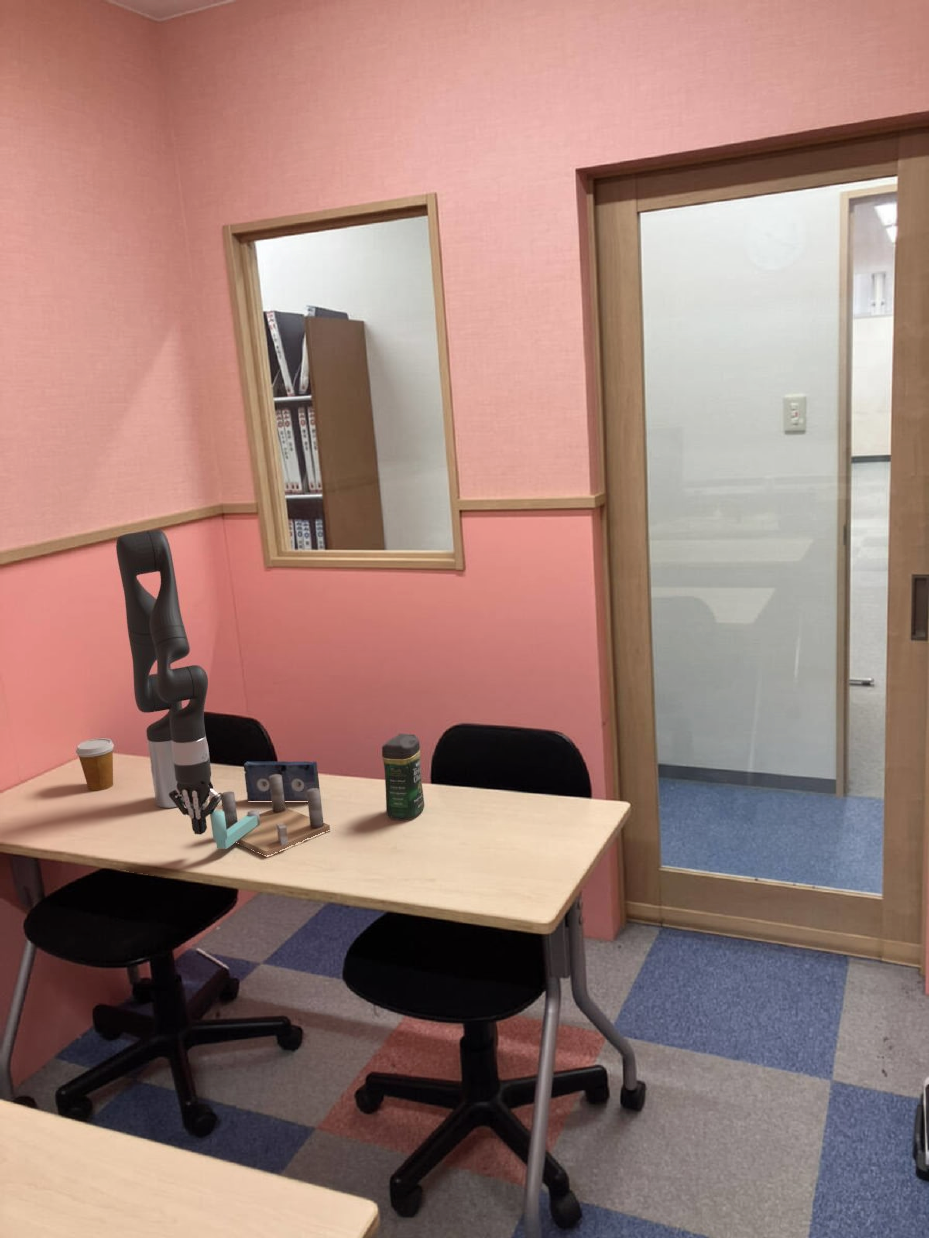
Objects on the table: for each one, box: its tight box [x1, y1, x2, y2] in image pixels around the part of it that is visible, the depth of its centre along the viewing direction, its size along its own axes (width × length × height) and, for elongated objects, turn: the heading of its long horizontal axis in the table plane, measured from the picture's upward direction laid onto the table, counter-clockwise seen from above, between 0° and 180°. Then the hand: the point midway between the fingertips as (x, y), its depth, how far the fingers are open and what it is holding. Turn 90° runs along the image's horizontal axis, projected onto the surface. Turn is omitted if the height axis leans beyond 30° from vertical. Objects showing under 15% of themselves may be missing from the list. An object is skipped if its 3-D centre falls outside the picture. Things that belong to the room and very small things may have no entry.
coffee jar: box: [381, 733, 425, 821], centre depth 234 cm, size 10×8×19 cm
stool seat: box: [220, 774, 331, 856], centre depth 228 cm, size 20×17×10 cm
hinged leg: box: [209, 809, 260, 850], centre depth 224 cm, size 16×3×8 cm, turn 160°
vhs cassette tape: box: [243, 760, 321, 802], centre depth 248 cm, size 18×3×10 cm, turn 78°
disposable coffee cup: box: [75, 737, 115, 792], centre depth 266 cm, size 10×10×12 cm
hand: (200, 832), depth 220 cm, fingers closed
